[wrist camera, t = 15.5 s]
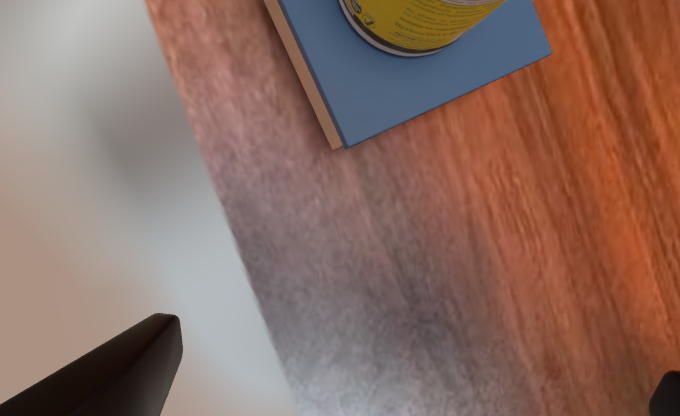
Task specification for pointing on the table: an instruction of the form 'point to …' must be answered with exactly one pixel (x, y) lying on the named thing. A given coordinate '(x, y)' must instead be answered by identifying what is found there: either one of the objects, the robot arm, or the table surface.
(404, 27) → the supplement bottle
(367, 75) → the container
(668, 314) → the table surface
